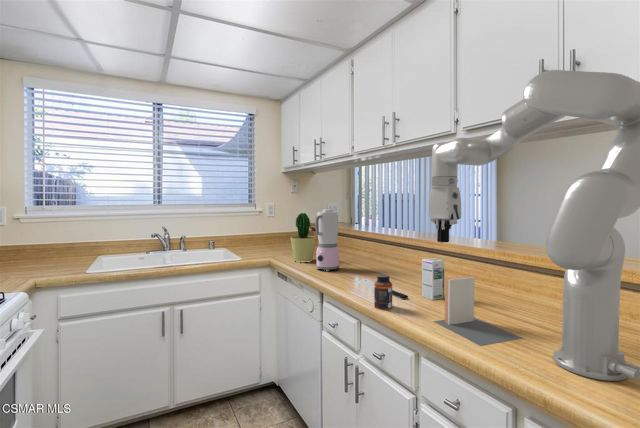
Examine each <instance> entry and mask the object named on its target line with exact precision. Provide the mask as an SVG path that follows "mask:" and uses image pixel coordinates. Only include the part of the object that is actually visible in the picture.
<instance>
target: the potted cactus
mask: <svg viewBox="0 0 640 428" xmlns="http://www.w3.org/2000/svg"><path fill="white" fill-rule="evenodd" d="M311 223H312V221H311V219H310V217H309V215H308V214H306V212H304V213H303V212H300V213H298V215H297V216H296V217H295V222H294V224H295V226H294V227H295V228H296V229H297V231H296V232H297V233H298V234H297V235H294V236H290V242H291V243H290V244H291V249H292V257H293V261H294V260H295V261H311V260H313V261H314V255H315V254H314V252H315V244H316V238H317V237H316V236H314V235H313V236H312V235H309V234H310V229H311V228H310V227H311V225H312V224H311Z"/></svg>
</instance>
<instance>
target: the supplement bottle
mask: <svg viewBox="0 0 640 428" xmlns="http://www.w3.org/2000/svg"><path fill="white" fill-rule="evenodd" d="M376 279H377V280H376V281H374V292H373V293H374V296H373V297H374V300H373V301H374V304H373V305H374V309H376V310H380V311H381V310H383V311H389V310H391V309H392V308H393V295H392V290H393V283H392V282H391V280H390V275H388V274H384V273H383V274H377V276H376Z"/></svg>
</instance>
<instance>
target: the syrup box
mask: <svg viewBox="0 0 640 428" xmlns="http://www.w3.org/2000/svg"><path fill="white" fill-rule="evenodd" d="M421 277H422V278H421V284H422V285H421V288H422V289H421V292H422V293H421V295H422V297H423V298H424V299H428V300H430V301H437V300H442V299H445V260H444V259H442V258H441V259H440V258H434V257H433V258H423V259H421Z"/></svg>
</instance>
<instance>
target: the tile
mask: <svg viewBox="0 0 640 428" xmlns="http://www.w3.org/2000/svg"><path fill="white" fill-rule="evenodd" d="M474 317H475V277H474V276H471V275H470V276H469V275H468V276H460V277H457V276H456V277H448V278H444V320H445V323H447V324H449V325H451V324H458V323H464V322H470V321H474Z"/></svg>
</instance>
